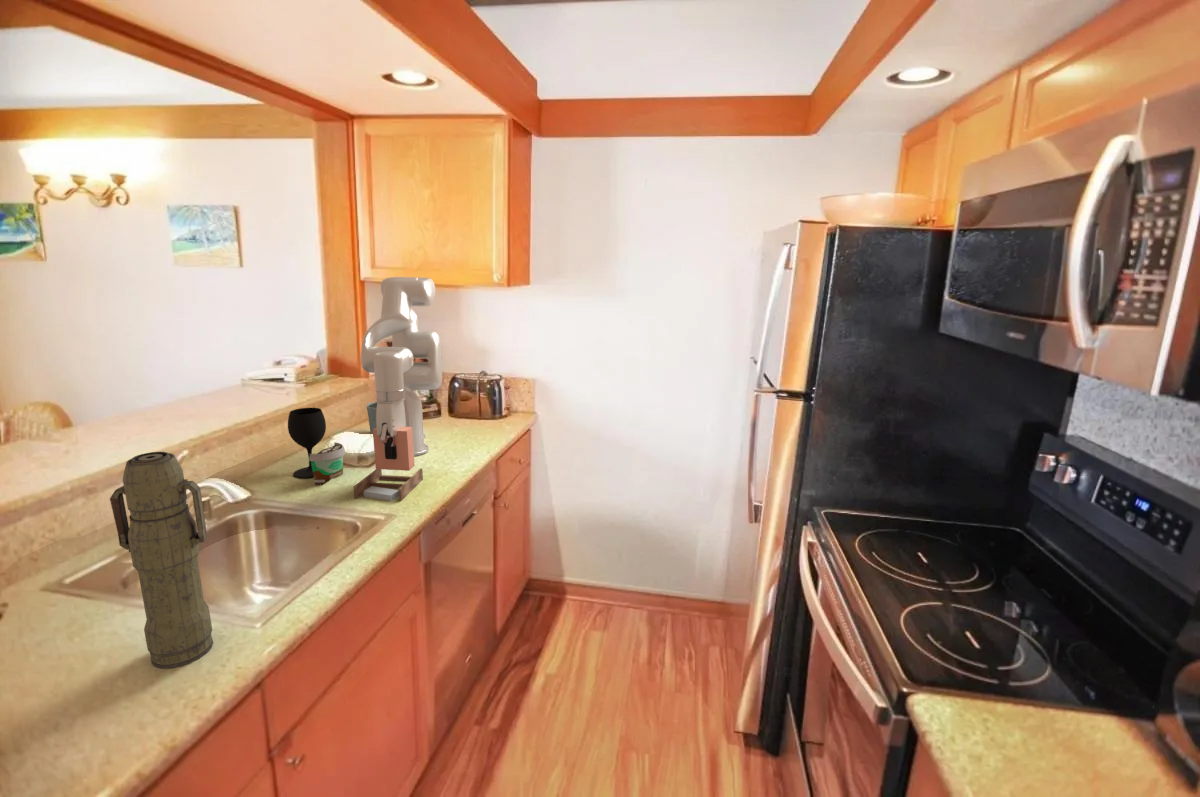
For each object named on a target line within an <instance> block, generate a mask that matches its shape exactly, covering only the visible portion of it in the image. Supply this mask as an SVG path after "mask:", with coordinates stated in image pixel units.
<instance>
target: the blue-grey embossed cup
mask: <svg viewBox="0 0 1200 797" xmlns="http://www.w3.org/2000/svg"><path fill="white" fill-rule="evenodd" d="M377 403H378V402H377V401H374V402H369V403H367V404H366V411H367V418H368V425H369V433H370V435H371V434H373V429H374V428H376V411H377Z"/></svg>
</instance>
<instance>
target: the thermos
mask: <svg viewBox="0 0 1200 797" xmlns="http://www.w3.org/2000/svg"><path fill="white" fill-rule="evenodd" d="M184 475H185V474H184V469H183V467H182V466H181V464H180V462H179V461H178V459H177V457H176V455H175V454H173V453H170V452H168V451H152V452H146V453H140V454H138V455H135V456H133V457H132V458H130V459H128V460H127V461H126V463H125V466H124V471H123V476H122V483H123V485H122V486H119V487H118V488H117V489H115V490H114V491H113V493H112V495H111V496H110V498H109V501H110V505H111V509H112V513H113V514H112V515H113V517H114V518H113V519H114V523H115V526H116V527H115V528H116V532H117V537H118V544H119V546H120V547H121V548H124V549H125V550H126V551H128V553H130V557H131V561H132V566H133V568H134V569H135V570H136V571H137V573H138V580H139V585H140V591H141V597H142V601H143V607H144V612H145V618H146V621H145V624H144V629H143V631H144V637H145V642H146V648H147V651H148V652H149V654H150V663H151V665H152V666H153V667H154V668H157V669H164V670H166V669H175V668H180V667H184V666H186V665H189V664H192V663H193V661H194V662H196V661H198V660H199V659H201V658H203V657H204V656H206V654H208V652H210V650H211V649H213V648H212V647H213V646H214V639H213V637H212V632H213V625H212V618H211V614H210V609H209V605H208V603H206V601H205V600H204V593H203V586H202V579H201V573H200V568H199V561H198V560H199V559H198V557H199V553H200V545H199V544H200V543H204V542H205V540H206V539H207V528H206V525H207V524H206V519H205V513H204V511H205V510H204V504H203V498H202V492H201V487H200V485H198V483H196V482H195V481H194V480H188V479H185V476H184ZM187 490H189V491H190V492H191V494H192V501H193V508H194V515H195V518H194V516H193V515H192V513H191V512H190V508H189V507H190V506H189V504H188V503H187V499H188V495H187ZM124 495H125V499H126V501H125V499H124ZM125 502H126V505H125ZM126 507H127V510H129V512H130V515H129V520H128V516H127V510H126ZM129 523H130V524H129Z"/></svg>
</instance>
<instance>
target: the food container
mask: <svg viewBox="0 0 1200 797" xmlns="http://www.w3.org/2000/svg"><path fill="white" fill-rule="evenodd" d="M333 444H334V445H333V446H332V445H331V447H328V448H325V449H324V448H323V449H322V450H320V451H319V452H317V453H312V454H310V456H309V458H308V462H309V461H311V465H312V470H313V476H314V478H313V481H314V486H324V485H326V484H327V483H328V482H329V481H331V480H333V479H337V478H340V477H341V476H342V475H344V455H345V454H346V451H345V447H344V445H343V444H341V443H339V442H334V443H333ZM320 484H321V485H320ZM323 484H324V485H323Z"/></svg>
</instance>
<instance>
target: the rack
mask: <svg viewBox="0 0 1200 797" xmlns="http://www.w3.org/2000/svg"><path fill="white" fill-rule="evenodd" d="M382 472H383V469H376V468H375V469H374V470H373V471H372V472H371V473H369V474H368V475H367V476H365V477H364V478H363V479H361V480H360V481H359V482H357V483H356V484H355V485H354V486H353V497H354V498H353V499H354V500H355V499H356V500H357V499H359V498H360V497H361V496H363V495H364V492H363V491H365V490H366V489H368V488H370V487H372V486H374V487H380V488H387V489H396V490H399V497H398V501H399V502H402V501H403V500H404V499H405V498H406V497H407V496H408V495H409V494H410V493H411V492H412V491H414V490H415V488H416V487H417V486H418V485H419V484H420V483H422V481H423V480H424V475H423V474H424V473H423V472H424V471H423V468H419V469H417V471H416V472H415V473H414V474H412V476H407V475H388V474H387V475H386V474H383V473H382ZM381 480H382V481H397V482H398V481H400V482H401V481H402V482H404V483H393V482H392V483H391V482H389V483H388V482H379V481H381Z"/></svg>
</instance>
